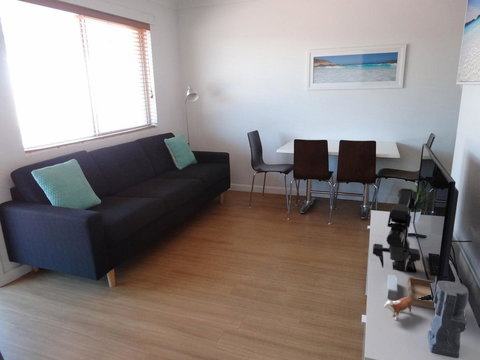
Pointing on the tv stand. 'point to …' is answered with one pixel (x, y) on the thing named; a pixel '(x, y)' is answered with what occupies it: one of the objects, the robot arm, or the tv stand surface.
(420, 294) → the open brown box
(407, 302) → the bull figurine
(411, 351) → the tv stand surface
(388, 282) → the long pale blue block
